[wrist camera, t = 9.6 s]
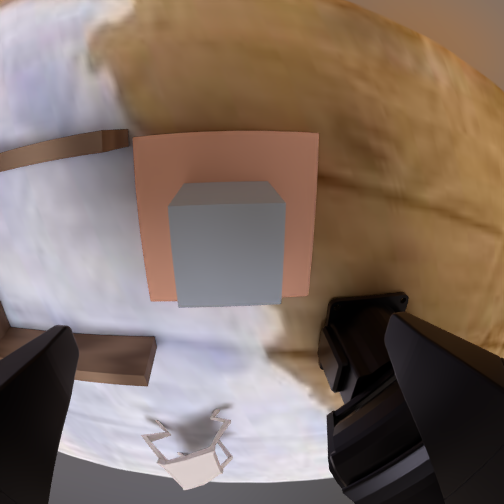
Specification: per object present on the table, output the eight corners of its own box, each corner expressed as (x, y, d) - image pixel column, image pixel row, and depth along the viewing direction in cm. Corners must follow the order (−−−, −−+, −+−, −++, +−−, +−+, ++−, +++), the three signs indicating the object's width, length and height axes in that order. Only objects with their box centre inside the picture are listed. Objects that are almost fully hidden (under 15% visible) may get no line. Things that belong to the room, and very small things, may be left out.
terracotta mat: (314, 132, 16) (319, 133, 15) (305, 289, 20) (308, 295, 19) (136, 136, 15) (132, 137, 14) (153, 295, 19) (151, 301, 18)
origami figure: (140, 396, 23) (130, 440, 19) (235, 403, 24) (238, 449, 20) (155, 457, 28) (151, 491, 23) (227, 462, 29) (229, 497, 24)
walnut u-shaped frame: (128, 129, 15) (101, 130, 11) (156, 347, 21) (147, 386, 17) (-38, 167, 14) (-72, 179, 10) (7, 335, 20) (-13, 362, 16)
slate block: (267, 181, 16) (285, 203, 12) (266, 257, 18) (281, 303, 13) (183, 183, 16) (167, 206, 11) (189, 260, 18) (178, 307, 13)
